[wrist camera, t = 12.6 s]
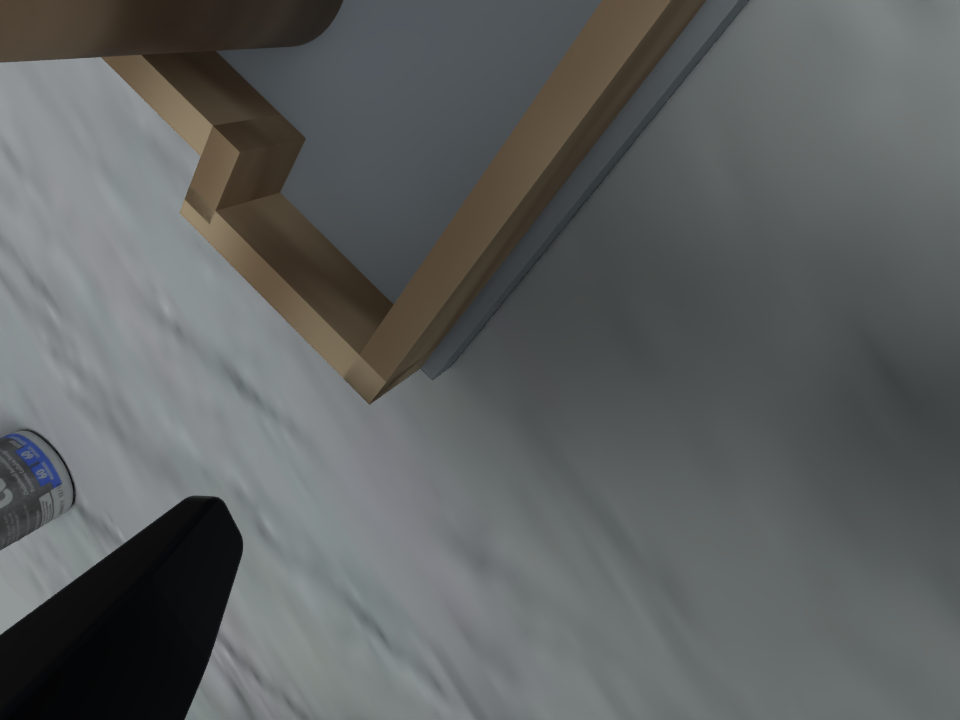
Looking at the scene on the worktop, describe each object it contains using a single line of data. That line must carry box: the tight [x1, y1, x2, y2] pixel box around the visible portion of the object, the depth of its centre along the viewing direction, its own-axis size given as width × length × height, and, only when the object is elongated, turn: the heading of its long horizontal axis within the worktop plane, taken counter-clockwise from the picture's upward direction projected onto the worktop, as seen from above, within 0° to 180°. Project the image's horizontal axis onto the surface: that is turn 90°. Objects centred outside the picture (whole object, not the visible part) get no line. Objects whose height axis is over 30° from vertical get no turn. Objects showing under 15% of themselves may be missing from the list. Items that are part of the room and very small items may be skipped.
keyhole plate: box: [101, 0, 749, 404], centre depth 18 cm, size 14×13×4 cm
